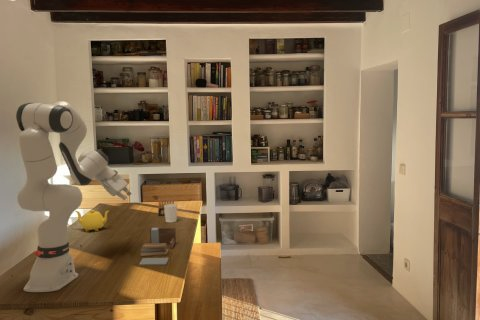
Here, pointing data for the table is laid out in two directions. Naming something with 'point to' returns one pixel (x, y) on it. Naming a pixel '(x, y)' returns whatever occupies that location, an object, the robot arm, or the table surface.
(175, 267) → the table surface
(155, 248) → the offcut stack
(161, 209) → the ammunition clip
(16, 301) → the table surface
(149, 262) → the felt mat
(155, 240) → the batten
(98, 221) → the teapot
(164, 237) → the walnut rack
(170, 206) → the white cup
